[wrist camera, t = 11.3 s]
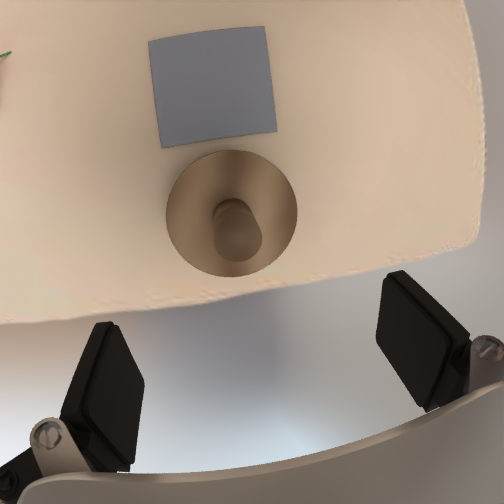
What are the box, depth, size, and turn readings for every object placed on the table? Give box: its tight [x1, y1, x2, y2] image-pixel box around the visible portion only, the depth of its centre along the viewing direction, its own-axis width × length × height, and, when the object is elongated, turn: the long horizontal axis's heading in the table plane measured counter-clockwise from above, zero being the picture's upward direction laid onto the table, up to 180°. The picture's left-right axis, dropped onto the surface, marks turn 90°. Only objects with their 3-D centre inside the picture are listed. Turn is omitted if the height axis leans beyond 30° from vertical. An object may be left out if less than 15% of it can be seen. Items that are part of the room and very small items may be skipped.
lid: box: [166, 150, 297, 277], centre depth 25 cm, size 12×12×6 cm
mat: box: [148, 26, 277, 148], centre depth 27 cm, size 12×12×1 cm
